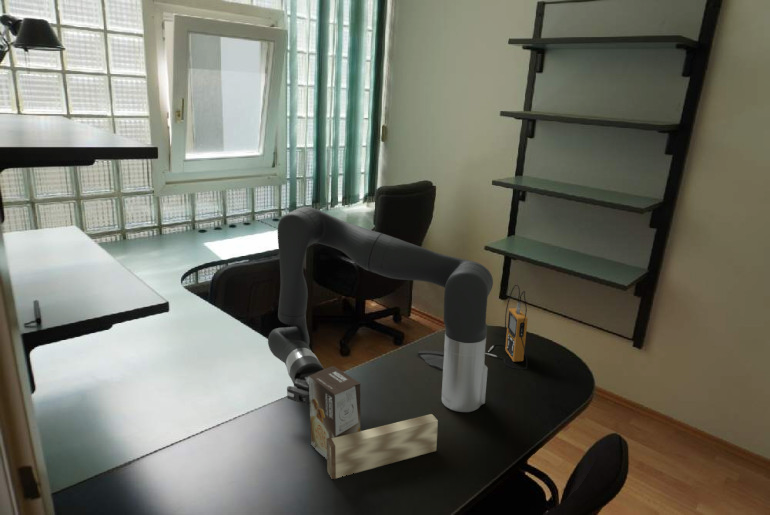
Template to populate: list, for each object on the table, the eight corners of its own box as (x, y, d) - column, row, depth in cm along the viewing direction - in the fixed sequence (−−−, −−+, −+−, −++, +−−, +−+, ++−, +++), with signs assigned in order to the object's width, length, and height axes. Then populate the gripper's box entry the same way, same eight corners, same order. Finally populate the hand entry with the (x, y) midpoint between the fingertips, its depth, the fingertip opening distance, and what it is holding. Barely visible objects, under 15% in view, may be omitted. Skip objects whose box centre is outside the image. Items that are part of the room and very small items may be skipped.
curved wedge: (430, 349, 147) (430, 344, 147) (470, 366, 139) (471, 360, 138) (411, 359, 142) (412, 354, 141) (452, 377, 133) (452, 371, 132)
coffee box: (362, 454, 102) (362, 383, 98) (336, 469, 98) (335, 395, 94) (334, 432, 109) (333, 364, 104) (309, 445, 105) (307, 375, 100)
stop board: (430, 443, 106) (431, 412, 104) (436, 451, 104) (438, 420, 102) (327, 470, 98) (326, 438, 96) (331, 480, 96) (331, 446, 93)
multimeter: (476, 345, 149) (481, 280, 143) (509, 344, 150) (516, 279, 145) (491, 371, 135) (497, 299, 129) (528, 369, 136) (536, 298, 131)
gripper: (276, 360, 118) (294, 399, 102) (331, 350, 123) (357, 386, 107) (277, 389, 120) (295, 431, 104) (332, 378, 125) (357, 417, 109)
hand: (326, 408), depth 106 cm, fingers closed
